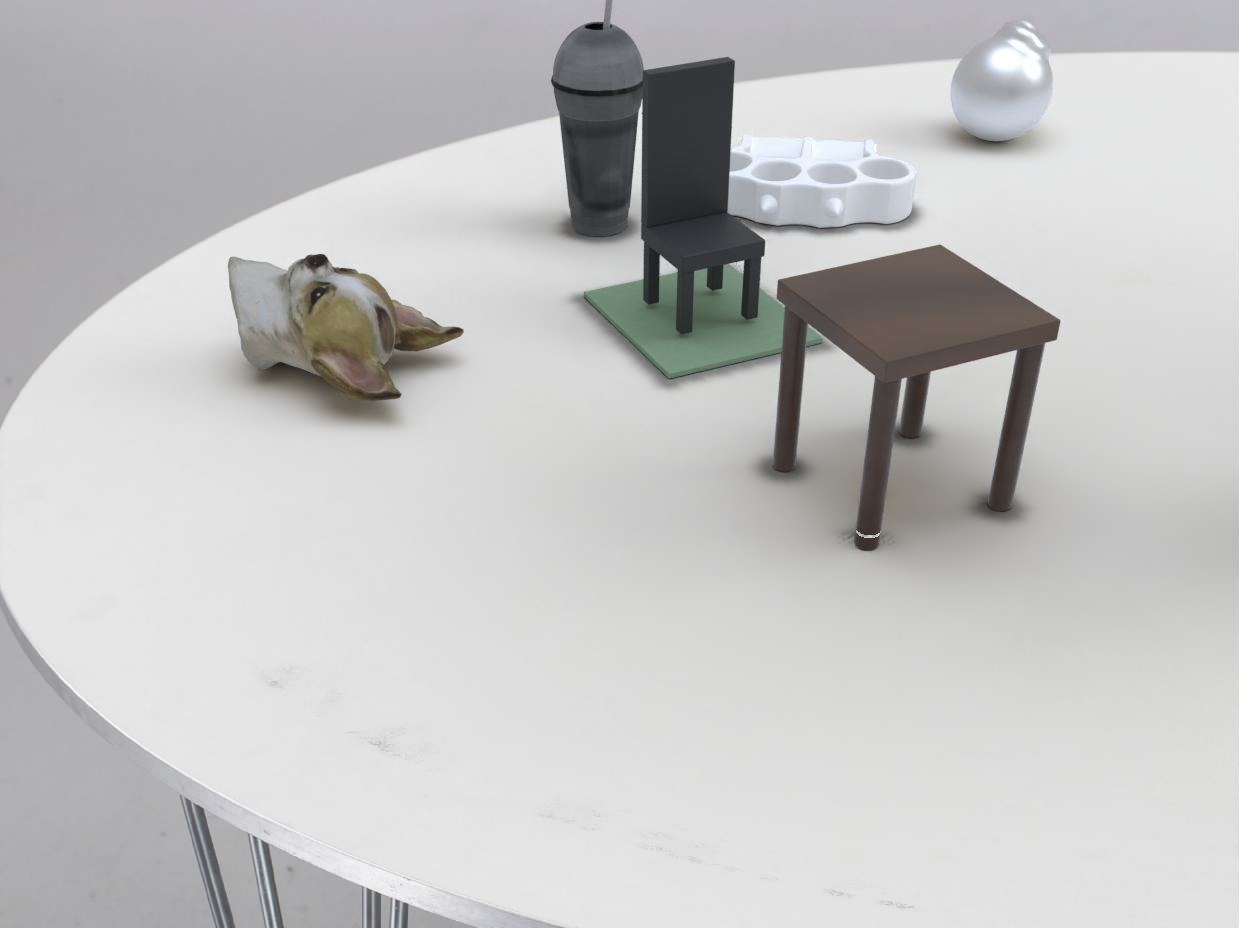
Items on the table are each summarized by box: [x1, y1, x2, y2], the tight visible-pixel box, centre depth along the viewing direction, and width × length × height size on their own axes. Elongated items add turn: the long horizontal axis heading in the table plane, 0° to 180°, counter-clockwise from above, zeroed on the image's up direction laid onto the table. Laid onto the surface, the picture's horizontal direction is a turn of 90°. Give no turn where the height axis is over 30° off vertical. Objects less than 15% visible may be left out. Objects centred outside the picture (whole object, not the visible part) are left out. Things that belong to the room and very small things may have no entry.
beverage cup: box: [550, 0, 645, 237], centre depth 111 cm, size 7×7×20 cm
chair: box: [640, 56, 766, 334], centre depth 98 cm, size 6×6×16 cm
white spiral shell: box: [949, 18, 1054, 142], centre depth 128 cm, size 9×10×10 cm
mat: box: [583, 264, 823, 380], centre depth 104 cm, size 14×12×1 cm
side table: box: [772, 243, 1061, 551], centre depth 83 cm, size 11×11×12 cm
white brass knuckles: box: [727, 133, 917, 229], centre depth 120 cm, size 3×18×15 cm
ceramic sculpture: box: [227, 253, 465, 402], centre depth 96 cm, size 11×9×15 cm
